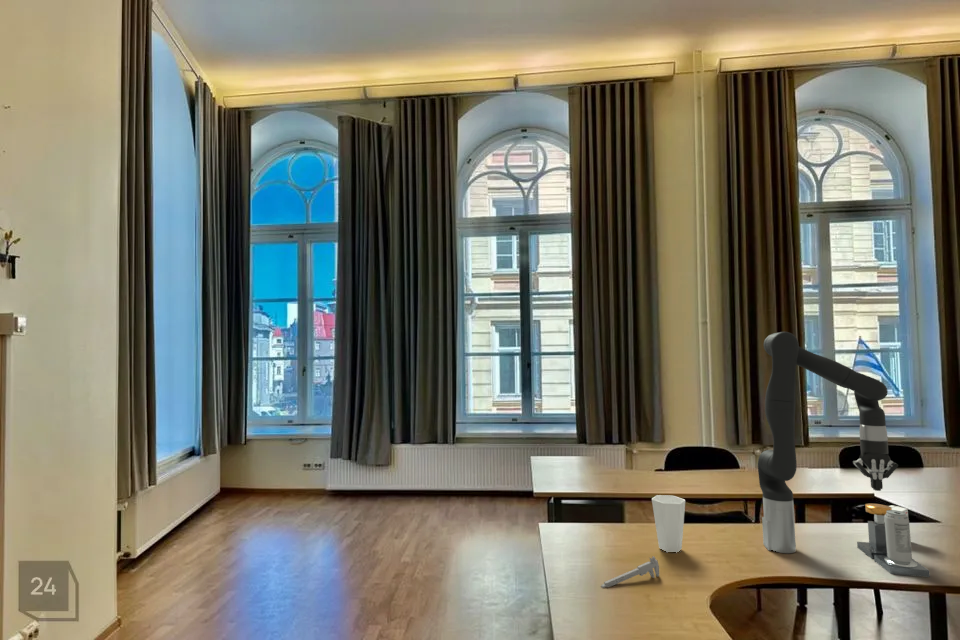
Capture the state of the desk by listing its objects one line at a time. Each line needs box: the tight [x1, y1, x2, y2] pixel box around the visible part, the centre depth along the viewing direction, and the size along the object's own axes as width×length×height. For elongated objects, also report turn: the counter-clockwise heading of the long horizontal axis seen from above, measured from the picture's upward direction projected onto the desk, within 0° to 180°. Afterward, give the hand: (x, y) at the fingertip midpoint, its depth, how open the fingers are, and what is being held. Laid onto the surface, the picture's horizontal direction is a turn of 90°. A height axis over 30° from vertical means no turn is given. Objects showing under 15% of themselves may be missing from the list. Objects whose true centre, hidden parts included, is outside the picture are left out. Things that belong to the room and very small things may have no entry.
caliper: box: [600, 556, 660, 589], centre depth 152 cm, size 20×1×6 cm, turn 111°
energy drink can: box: [884, 510, 913, 564], centre depth 160 cm, size 6×6×15 cm
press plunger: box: [865, 503, 892, 525], centre depth 171 cm, size 7×7×9 cm
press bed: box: [873, 555, 931, 578], centre depth 159 cm, size 10×10×2 cm
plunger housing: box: [856, 520, 887, 560], centre depth 171 cm, size 10×10×10 cm
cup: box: [651, 494, 686, 554], centre depth 178 cm, size 11×10×17 cm
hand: (876, 490), depth 172 cm, fingers closed
